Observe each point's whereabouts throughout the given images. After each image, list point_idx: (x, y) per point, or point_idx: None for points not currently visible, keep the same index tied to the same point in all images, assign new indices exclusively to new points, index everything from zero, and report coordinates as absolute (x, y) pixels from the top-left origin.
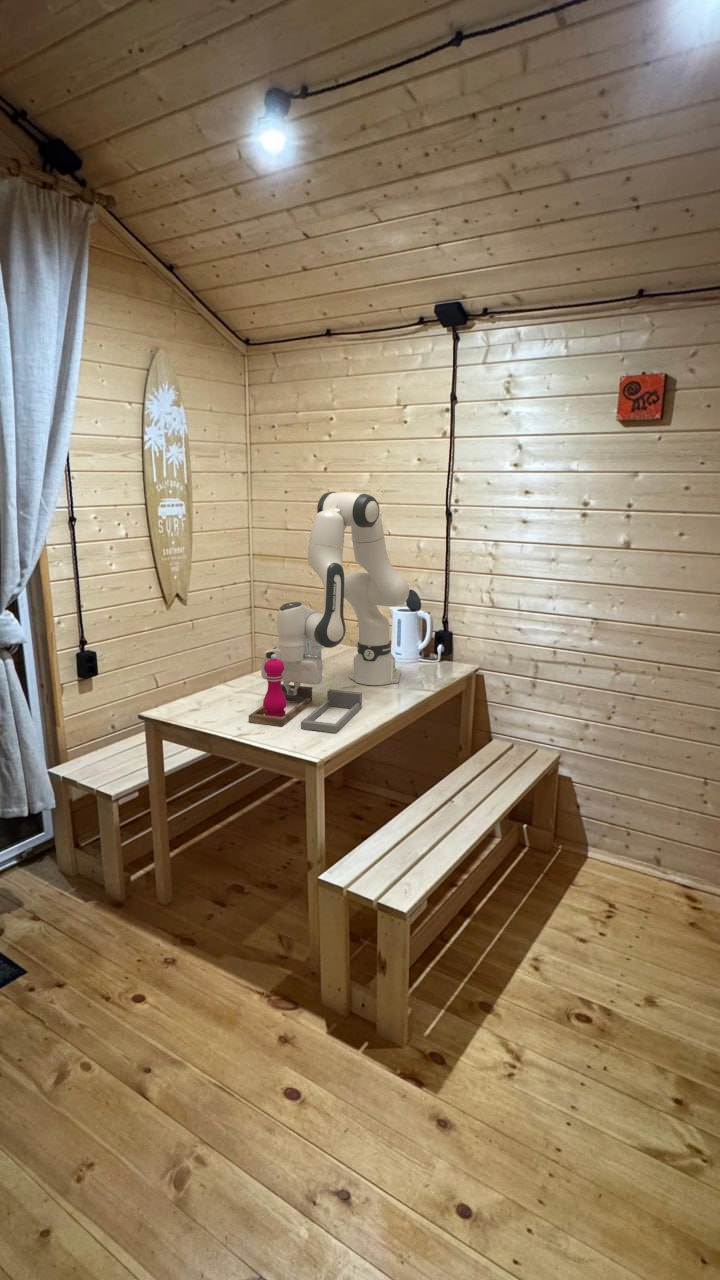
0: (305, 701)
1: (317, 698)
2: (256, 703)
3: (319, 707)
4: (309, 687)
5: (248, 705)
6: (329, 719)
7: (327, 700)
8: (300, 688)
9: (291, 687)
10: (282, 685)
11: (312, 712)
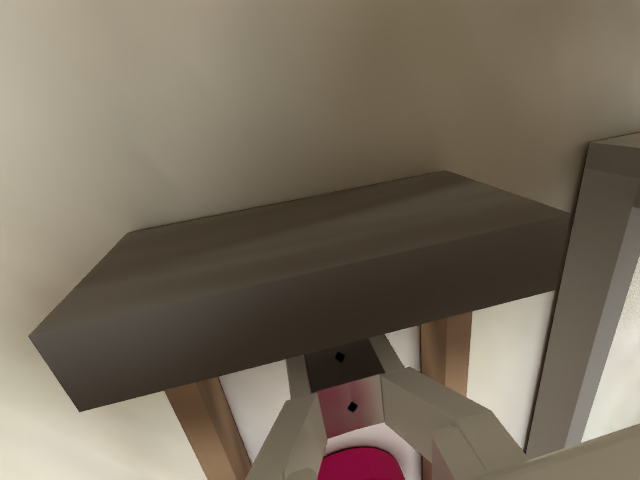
0: (470, 333)
1: (443, 22)
2: (42, 420)
3: (592, 368)
4: (535, 242)
5: (35, 472)
6: (611, 362)
7: (633, 221)
8: (426, 319)
9: (293, 351)
10: (117, 377)
11: (567, 440)
